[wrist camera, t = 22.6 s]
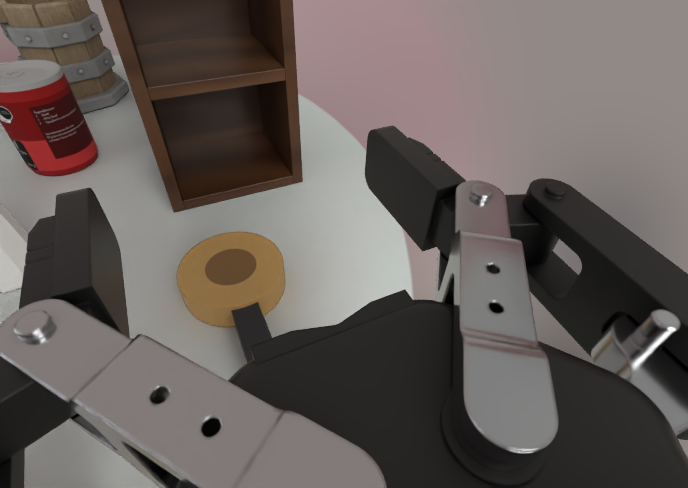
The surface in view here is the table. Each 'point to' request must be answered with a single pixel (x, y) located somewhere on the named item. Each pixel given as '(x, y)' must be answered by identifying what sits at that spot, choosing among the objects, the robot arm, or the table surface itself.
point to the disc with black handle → (233, 283)
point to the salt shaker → (11, 251)
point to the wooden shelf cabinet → (213, 93)
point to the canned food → (44, 118)
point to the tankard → (65, 46)
